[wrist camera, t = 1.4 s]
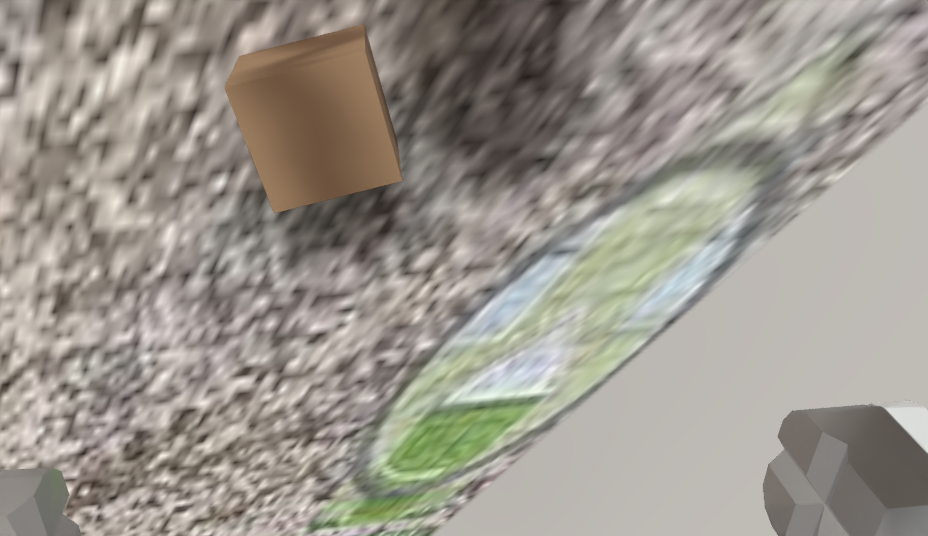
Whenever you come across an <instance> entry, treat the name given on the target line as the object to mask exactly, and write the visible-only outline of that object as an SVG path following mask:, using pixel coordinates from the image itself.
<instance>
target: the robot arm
mask: <svg viewBox="0 0 928 536" xmlns="http://www.w3.org/2000/svg"><path fill="white" fill-rule="evenodd" d="M778 438H779V440H780V442H781V444H782V445H783V447H784V451H782V452H781V453H780V454H779V455H778V456H777V457H776V458H775V459H774V460H773V461H772V462H771V463H769V465H768V468H767V472H766V476H765V479H764V483H763V492H764V501H765V509H766V512H767V514H768V516H769V520H770V522H771V525H772V527H773V528H774V530H775V531H776V533H777V535H778V536H928V410H926V409H925V408H924V407H923V406H921V405H919V404H917V403H915V402H912V401H910V400H906V401H894V402H883V403H874V404H869V405H855V406H843V407H831V408H820V409H809V410H796V411H792V412H791V413H790V414H789V415H788V416H787V417H786V418H785V419H784V420H783V422H782V425H781V428H780V431H779V434H778ZM68 496H69V492H68V489H67V486H66V484H65V481H64V478H63V475H62V472H61V471H59V470H57V469H54V468H35V469H16V470H0V536H81V533H80V529H79V526H78V524H76V523H75V522H73V521H72V520H70V519H69V518H67V517H66V516H65V515H63V514H62V512H63V510H64V507H65V504H66V502H67V499H68Z"/></svg>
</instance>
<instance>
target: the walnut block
mask: <svg viewBox="0 0 928 536" xmlns="http://www.w3.org/2000/svg"><path fill="white" fill-rule="evenodd" d="M225 91H226V93H227V96H228V98H229V101H230V103H231V106H232V108H233V111H234V113H235V116H236V118H237V121H238V123H239V126H240V128H241V131H242V133H243V136H244V138H245V141H246V143H247V146H248V148H249V151H250V153H251V156H252V158H253V161H254V164H255V166H256V169H257V171H258V174H259V176H260V179H261V181H262V184H263V186H264V189H265V191H266V194H267V196H268V199H269V201H270V204H271V206H272V209H273V211H274V213H277V212H281V211H285V210H289V209H293V208H297V207H301V206H305V205H309V204H313V203H317V202H321V201H325V200H329V199H332V198H336V197H340V196H344V195H348V194H352V193H356V192H360V191H364V190H368V189H372V188H376V187H380V186H384V185H388V184H392V183H396V182H400V181H402V175H401V167H400V159H399V151H398V144H397V139H396V136H395V132H394V128H393V125H392V121H391V118H390V114H389V111H388V107H387V104H386V100H385V97H384V93H383V89H382V86H381V82H380V79H379V75H378V72H377V68H376V65H375V61H374V58H373V54H372V50H371V47H370V43H369V40H368V36H367V33H366V29H365V26H364V25H360V26H356V27H352V28H348V29H344V30H340V31H336V32H332V33H328V34H324V35H320V36H317V37H313V38H309V39H305V40H301V41H297V42H293V43H289V44H285V45H281V46H277V47H273V48H269V49H265V50H261V51H257V52H254V53H250V54H246V55H242V56H239V58H238V60H237V62H236V64H235V66H234V69H233V71H232V73H231V75H230V77H229V79H228V81H227V83H226V85H225Z"/></svg>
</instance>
